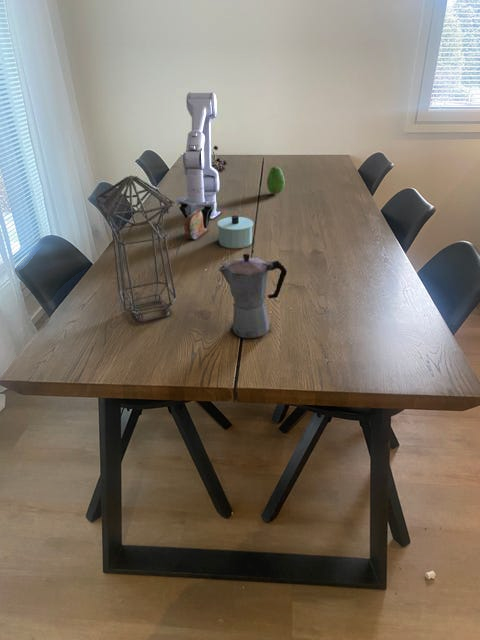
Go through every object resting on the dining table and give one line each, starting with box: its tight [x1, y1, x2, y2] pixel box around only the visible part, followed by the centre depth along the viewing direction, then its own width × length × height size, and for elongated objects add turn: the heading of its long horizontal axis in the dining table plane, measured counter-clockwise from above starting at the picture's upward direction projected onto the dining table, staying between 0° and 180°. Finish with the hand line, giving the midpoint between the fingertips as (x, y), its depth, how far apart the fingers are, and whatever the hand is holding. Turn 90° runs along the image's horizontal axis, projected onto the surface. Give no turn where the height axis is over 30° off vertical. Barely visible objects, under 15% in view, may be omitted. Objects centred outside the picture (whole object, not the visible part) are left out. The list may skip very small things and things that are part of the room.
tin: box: [183, 209, 210, 240], centre depth 162 cm, size 15×3×8 cm, turn 158°
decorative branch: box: [211, 145, 228, 173], centre depth 245 cm, size 11×9×30 cm
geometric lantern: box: [95, 175, 177, 323], centre depth 110 cm, size 16×16×35 cm
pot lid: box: [217, 215, 254, 231], centre depth 154 cm, size 12×12×3 cm
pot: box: [218, 226, 253, 249], centre depth 156 cm, size 11×11×6 cm
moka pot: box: [218, 253, 287, 339], centre depth 106 cm, size 10×15×20 cm, turn 95°
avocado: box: [266, 165, 286, 195], centre depth 200 cm, size 8×8×12 cm
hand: (197, 225), depth 162 cm, fingers open, 6 cm apart
